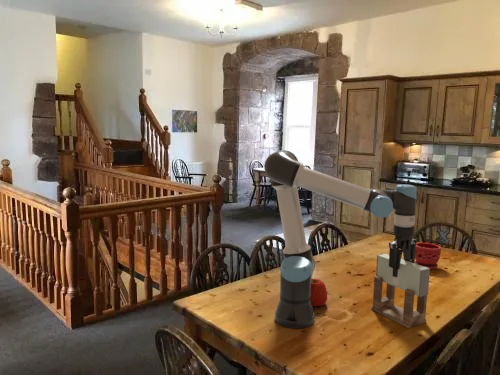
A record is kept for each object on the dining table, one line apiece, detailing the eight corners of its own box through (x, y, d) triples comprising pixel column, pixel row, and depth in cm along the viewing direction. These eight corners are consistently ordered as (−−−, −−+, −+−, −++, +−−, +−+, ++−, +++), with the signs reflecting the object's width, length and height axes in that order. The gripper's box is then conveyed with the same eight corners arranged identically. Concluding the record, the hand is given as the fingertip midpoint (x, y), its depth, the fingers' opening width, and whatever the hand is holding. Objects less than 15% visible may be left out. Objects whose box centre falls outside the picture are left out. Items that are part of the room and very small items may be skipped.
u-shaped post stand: (408, 328, 151) (410, 292, 149) (371, 309, 166) (373, 276, 164) (425, 322, 156) (428, 287, 154) (388, 304, 171) (390, 272, 169)
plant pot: (442, 271, 212) (444, 249, 210) (416, 270, 214) (417, 248, 213) (435, 263, 225) (437, 242, 223) (410, 262, 227) (412, 241, 225)
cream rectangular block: (420, 296, 149) (421, 270, 148) (375, 278, 167) (377, 255, 166) (428, 294, 151) (429, 268, 150) (383, 276, 169) (384, 253, 168)
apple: (295, 303, 172) (296, 278, 170) (311, 295, 179) (312, 272, 178) (316, 311, 164) (317, 286, 163) (332, 303, 172) (333, 279, 170)
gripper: (396, 229, 148) (392, 290, 152) (427, 224, 157) (423, 282, 160) (380, 225, 155) (377, 284, 158) (411, 220, 163) (407, 276, 167)
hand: (400, 283), depth 159 cm, fingers closed on cream rectangular block, 4 cm apart
